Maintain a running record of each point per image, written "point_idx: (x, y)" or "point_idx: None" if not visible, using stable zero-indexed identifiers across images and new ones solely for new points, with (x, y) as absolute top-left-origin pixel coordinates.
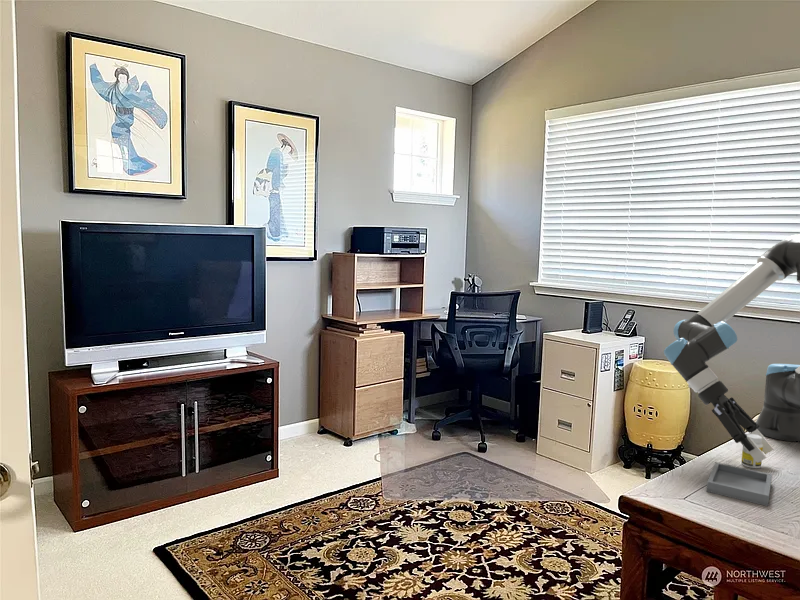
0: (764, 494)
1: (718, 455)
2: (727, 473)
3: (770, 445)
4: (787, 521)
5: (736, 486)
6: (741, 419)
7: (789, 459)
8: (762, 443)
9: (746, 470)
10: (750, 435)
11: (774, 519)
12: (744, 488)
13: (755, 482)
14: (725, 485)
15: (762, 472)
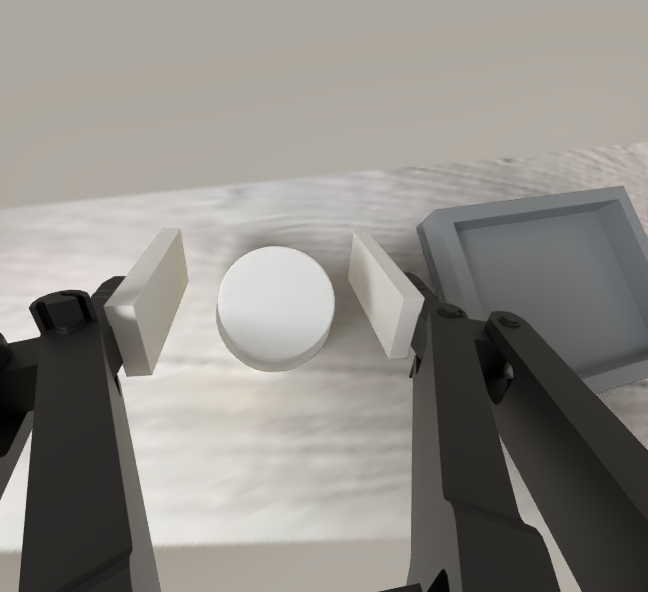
0: (625, 196)
1: (250, 497)
2: None
3: (170, 238)
4: (624, 155)
5: (576, 294)
6: (126, 470)
7: (20, 222)
8: (171, 281)
9: (475, 292)
10: (280, 322)
11: (642, 179)
12: (567, 271)
13: (487, 258)
14: None
15: (447, 239)
